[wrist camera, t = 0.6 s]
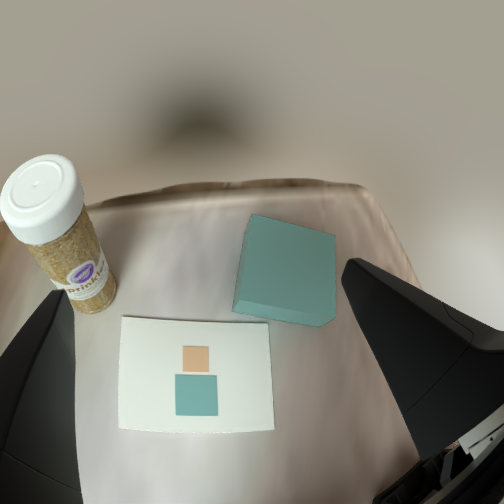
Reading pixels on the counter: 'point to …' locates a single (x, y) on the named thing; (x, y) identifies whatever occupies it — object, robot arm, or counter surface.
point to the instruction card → (194, 376)
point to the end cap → (416, 483)
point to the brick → (286, 273)
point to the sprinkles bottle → (58, 229)
